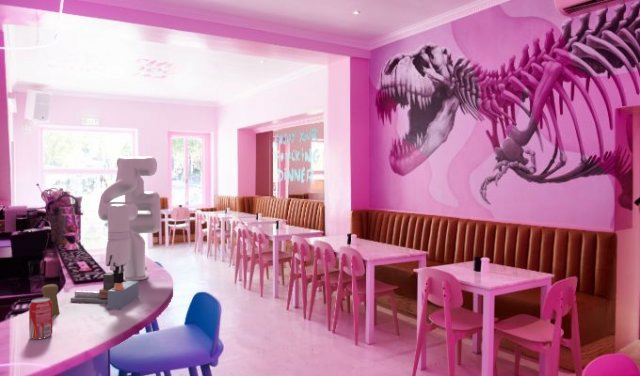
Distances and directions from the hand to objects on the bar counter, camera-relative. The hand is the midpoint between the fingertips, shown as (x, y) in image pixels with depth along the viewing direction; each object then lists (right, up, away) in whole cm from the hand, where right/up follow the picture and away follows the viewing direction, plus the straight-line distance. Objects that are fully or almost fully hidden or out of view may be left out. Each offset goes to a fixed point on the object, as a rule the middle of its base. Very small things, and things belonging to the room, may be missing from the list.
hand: (118, 282), depth 171 cm
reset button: (0, -6, 0) cm, 7 cm away
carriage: (-7, -7, +7) cm, 12 cm away
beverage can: (-11, -11, -31) cm, 34 cm away
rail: (-12, -9, +7) cm, 17 cm away
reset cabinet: (0, -9, +5) cm, 10 cm away
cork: (-20, -10, -10) cm, 25 cm away
